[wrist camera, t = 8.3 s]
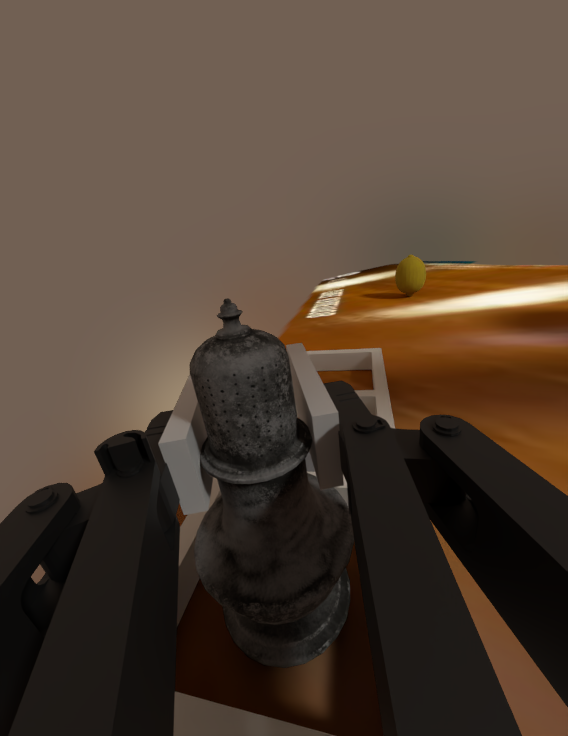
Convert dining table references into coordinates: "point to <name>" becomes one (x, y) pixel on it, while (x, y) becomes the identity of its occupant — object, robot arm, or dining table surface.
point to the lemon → (410, 275)
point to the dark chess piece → (266, 504)
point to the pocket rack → (191, 714)
